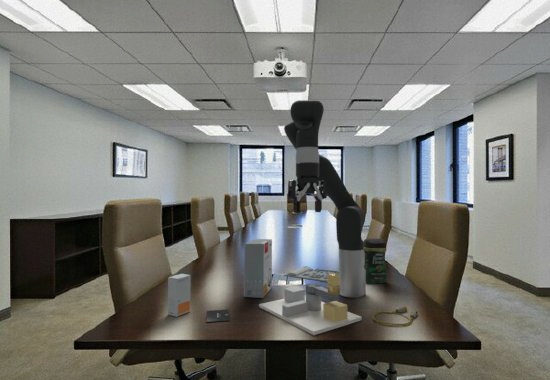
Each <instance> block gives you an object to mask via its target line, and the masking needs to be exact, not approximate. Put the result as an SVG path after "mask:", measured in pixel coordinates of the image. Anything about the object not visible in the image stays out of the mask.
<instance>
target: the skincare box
mask: <svg viewBox="0 0 550 380" xmlns="http://www.w3.org/2000/svg"><path fill="white" fill-rule="evenodd" d="M191 280H192V277H191V274H186V273H179V274H175V275H173V276H169V277H167V315H169V316H173V317H179V316H181V315H185V314H186V313H190V312H191V289H192V288H191V287H192V286H191Z"/></svg>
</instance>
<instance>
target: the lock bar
mask: <svg viewBox="0 0 550 380" xmlns="http://www.w3.org/2000/svg"><path fill="white" fill-rule="evenodd" d="M328 273H329V274H327V282H326V283H327V284H326V285H327V288H325V287H323V286H322V285H321V284H320V283H314V282H313V283H312V282H311V283H306V284H305V293H306V292H307V293H310V294H316V295H319V296H321V298H324V299H326V300H329V301H330V302H332V301H339V300H340V275H339V274H337V273H336V272H328Z"/></svg>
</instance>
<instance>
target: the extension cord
mask: <svg viewBox="0 0 550 380" xmlns="http://www.w3.org/2000/svg"><path fill="white" fill-rule="evenodd" d="M407 311H408V307H407V306H399V307H397V308H395V311H378V312H376V313H374V314H373V315H372V319H373V321H374V322H376V324H379V325H383V326H387V327H407V326H408V327H409V326H410V325H412V323H413V321H412V320H414V319H415V318H416V317H417V315H418V314H419V312H418V311H417V310H415V309H414V310H411V312H410V314H409V317H410V318H409V317H407V316H406V315H404V314H402V313H404V312H407ZM380 314H394V315H399V316H401V317H404V318H405V319H407V320H409V321H408V322H406V323H390V322H385V321H381V320H377V319H375V317H376V316H378V315H380Z"/></svg>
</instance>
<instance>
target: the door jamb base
mask: <svg viewBox="0 0 550 380" xmlns="http://www.w3.org/2000/svg"><path fill="white" fill-rule="evenodd" d="M258 307H259V308H260V309H262V310H264V311H266V312H268V313H270V314H272V315H273V316H276V317H278V318H279V319H282V320H283V321H285V322H287V323H289V324H291V325H293V326H295V327H296V328H299V329H301V330H302V331H304V332H306V333H308V334H310V335H312V336H316V335H318V334H322V333H326V332H328V331H332V330H334V329H335V330H336V329H338V328H341V327H345V326H348V325H350V324H353V323H357V322H360V321H362V318H363V317H362V316H361V315H359V314H355V313H353V312H350V311H348V304H346V303H342V302H339V300H336V301H329V302H324V301H322V297H321V296H319V295H316V294H310V293H307V292H306V289H305V288H301V287H298V286H291V287H286V288H284V298H282V299H281V298H280V299H277V300H276V299H275V300H272V301H267V302H263V303H259V304H258Z"/></svg>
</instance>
